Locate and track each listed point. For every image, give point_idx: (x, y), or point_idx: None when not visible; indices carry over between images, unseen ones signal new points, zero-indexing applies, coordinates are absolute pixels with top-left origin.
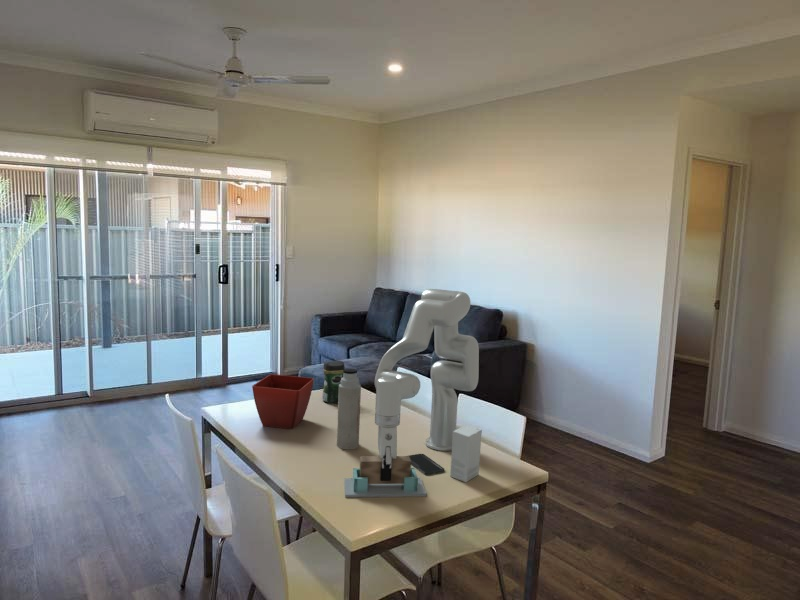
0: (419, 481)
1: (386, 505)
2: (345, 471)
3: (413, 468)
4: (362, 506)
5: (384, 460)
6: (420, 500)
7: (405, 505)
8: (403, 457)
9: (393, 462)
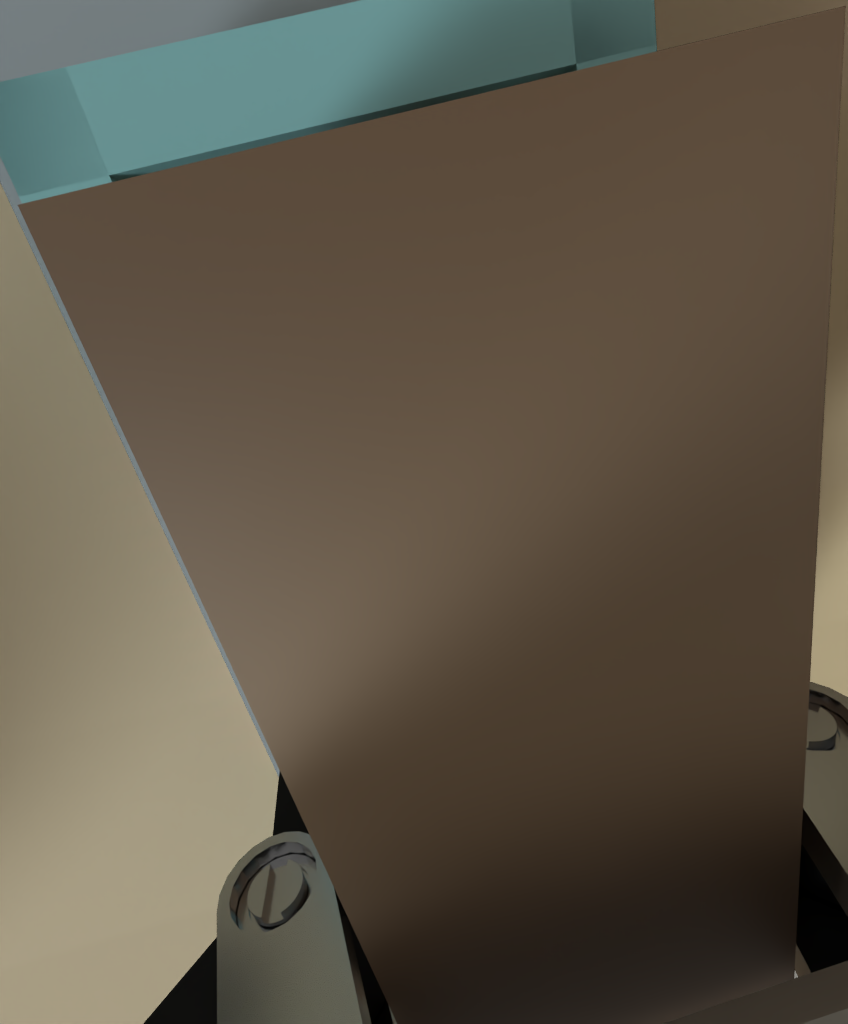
0: (126, 30)
1: (823, 467)
2: (143, 976)
3: (33, 111)
4: (822, 664)
5: (737, 980)
6: (723, 14)
7: (843, 246)
8: (368, 518)
9: (779, 748)
